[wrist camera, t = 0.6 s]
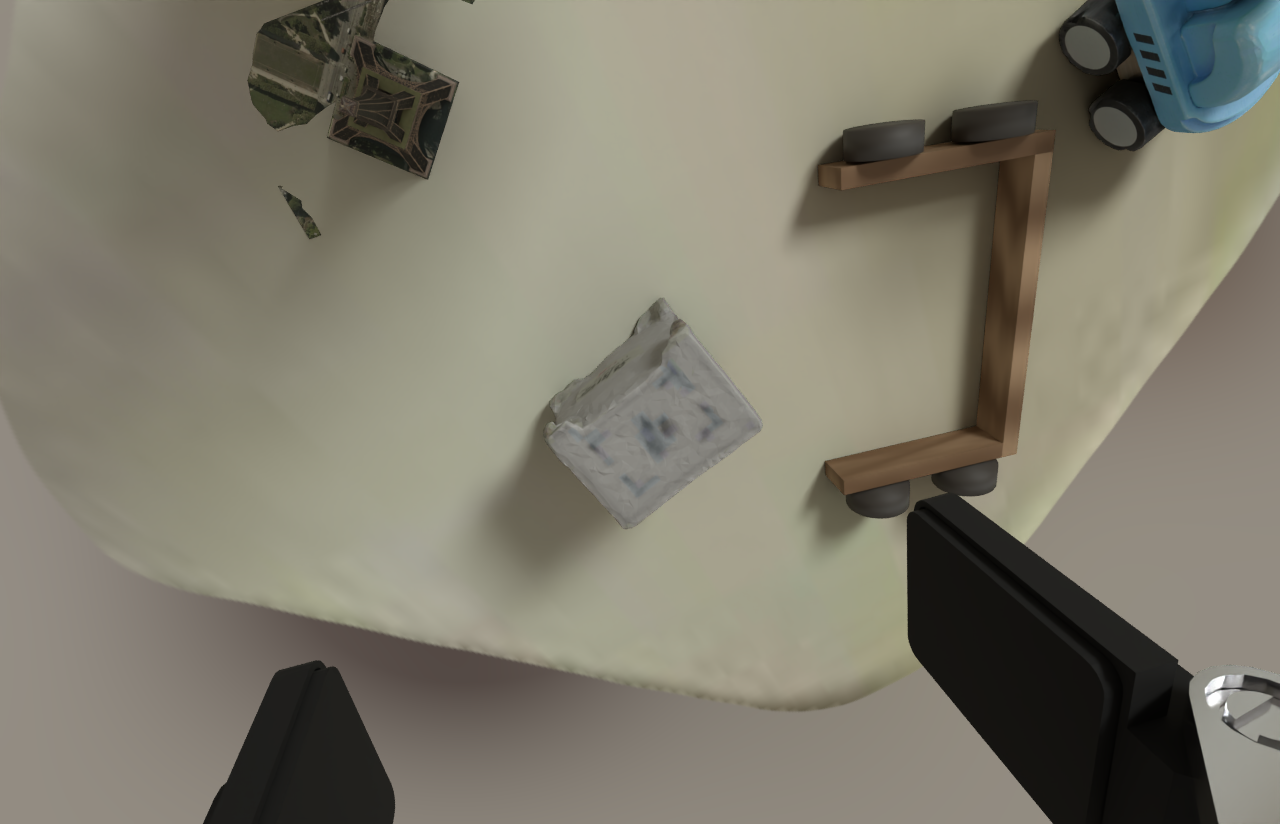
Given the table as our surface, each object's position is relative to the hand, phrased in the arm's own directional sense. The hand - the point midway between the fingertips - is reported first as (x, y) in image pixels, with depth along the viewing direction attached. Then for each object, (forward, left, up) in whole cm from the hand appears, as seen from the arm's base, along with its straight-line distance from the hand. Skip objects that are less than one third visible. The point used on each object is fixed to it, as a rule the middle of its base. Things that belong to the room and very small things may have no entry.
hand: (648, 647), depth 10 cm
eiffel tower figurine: (-10, -6, -33) cm, 34 cm away
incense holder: (+8, +4, -32) cm, 33 cm away
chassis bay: (+8, +25, -32) cm, 41 cm away
